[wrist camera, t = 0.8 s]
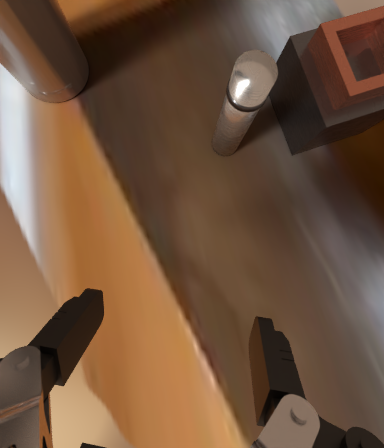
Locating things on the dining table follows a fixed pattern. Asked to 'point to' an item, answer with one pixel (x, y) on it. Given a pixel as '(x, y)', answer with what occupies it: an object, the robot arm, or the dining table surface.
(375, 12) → the block
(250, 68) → the steel tube
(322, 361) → the dining table surface
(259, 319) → the robot arm
